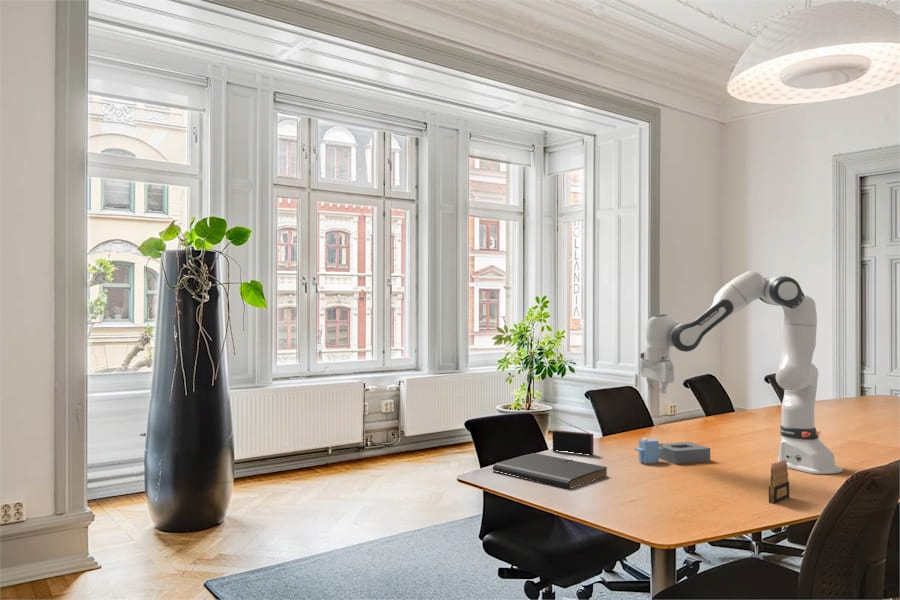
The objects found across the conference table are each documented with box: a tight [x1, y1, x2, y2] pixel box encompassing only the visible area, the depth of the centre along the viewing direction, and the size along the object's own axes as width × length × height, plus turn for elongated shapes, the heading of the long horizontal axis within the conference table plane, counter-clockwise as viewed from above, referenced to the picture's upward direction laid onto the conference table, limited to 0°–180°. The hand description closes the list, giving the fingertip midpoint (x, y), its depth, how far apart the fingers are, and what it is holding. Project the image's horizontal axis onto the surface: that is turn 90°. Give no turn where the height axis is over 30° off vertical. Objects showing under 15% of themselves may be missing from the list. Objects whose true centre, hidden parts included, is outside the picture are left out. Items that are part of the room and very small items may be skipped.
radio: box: [548, 414, 595, 456], centre depth 273 cm, size 19×3×15 cm, turn 59°
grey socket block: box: [659, 441, 711, 465], centre depth 261 cm, size 13×16×5 cm
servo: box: [634, 437, 664, 464], centre depth 257 cm, size 4×12×9 cm, turn 107°
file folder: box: [492, 452, 608, 490], centre depth 239 cm, size 33×4×24 cm
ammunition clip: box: [768, 459, 791, 505], centre depth 205 cm, size 11×2×12 cm, turn 131°
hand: (656, 391), depth 259 cm, fingers open, 8 cm apart
